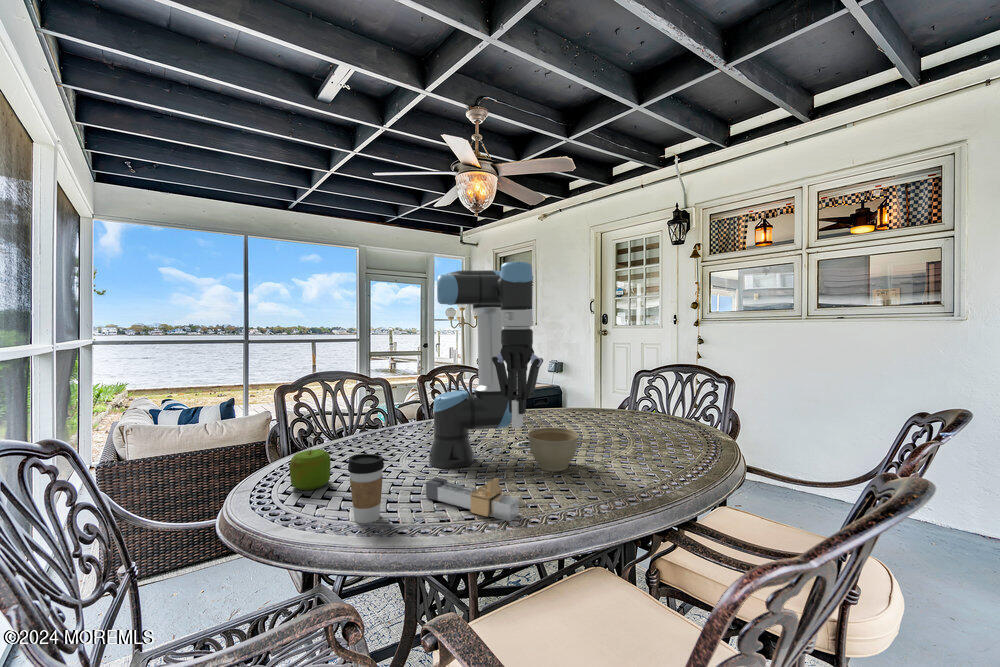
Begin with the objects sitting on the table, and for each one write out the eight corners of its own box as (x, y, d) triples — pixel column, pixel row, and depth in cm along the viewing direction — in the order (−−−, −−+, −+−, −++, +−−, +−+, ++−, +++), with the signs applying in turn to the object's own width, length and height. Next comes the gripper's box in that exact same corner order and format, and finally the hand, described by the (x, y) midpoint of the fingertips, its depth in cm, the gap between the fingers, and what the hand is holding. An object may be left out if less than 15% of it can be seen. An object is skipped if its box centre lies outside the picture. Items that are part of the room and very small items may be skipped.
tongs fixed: (518, 514, 109) (518, 496, 109) (510, 521, 105) (509, 502, 105) (436, 493, 122) (436, 477, 122) (426, 498, 119) (425, 482, 118)
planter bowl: (521, 472, 139) (521, 437, 138) (536, 457, 153) (536, 425, 153) (572, 478, 132) (572, 443, 132) (583, 462, 147) (583, 430, 147)
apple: (322, 476, 136) (321, 441, 136) (337, 485, 128) (337, 448, 128) (284, 486, 128) (283, 449, 128) (298, 497, 121) (297, 457, 120)
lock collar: (502, 506, 113) (502, 476, 112) (487, 516, 107) (487, 485, 107) (485, 502, 115) (485, 472, 115) (470, 512, 109) (470, 481, 109)
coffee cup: (353, 511, 111) (352, 452, 111) (387, 509, 112) (386, 451, 112) (344, 526, 103) (343, 463, 103) (381, 525, 104) (380, 462, 103)
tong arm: (489, 505, 113) (489, 489, 113) (485, 508, 112) (485, 491, 111) (435, 492, 122) (435, 477, 122) (431, 494, 121) (431, 479, 120)
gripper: (485, 328, 105) (486, 427, 106) (534, 328, 98) (534, 434, 99) (501, 327, 111) (502, 420, 112) (548, 327, 104) (549, 426, 105)
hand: (517, 426), depth 106 cm, fingers closed
